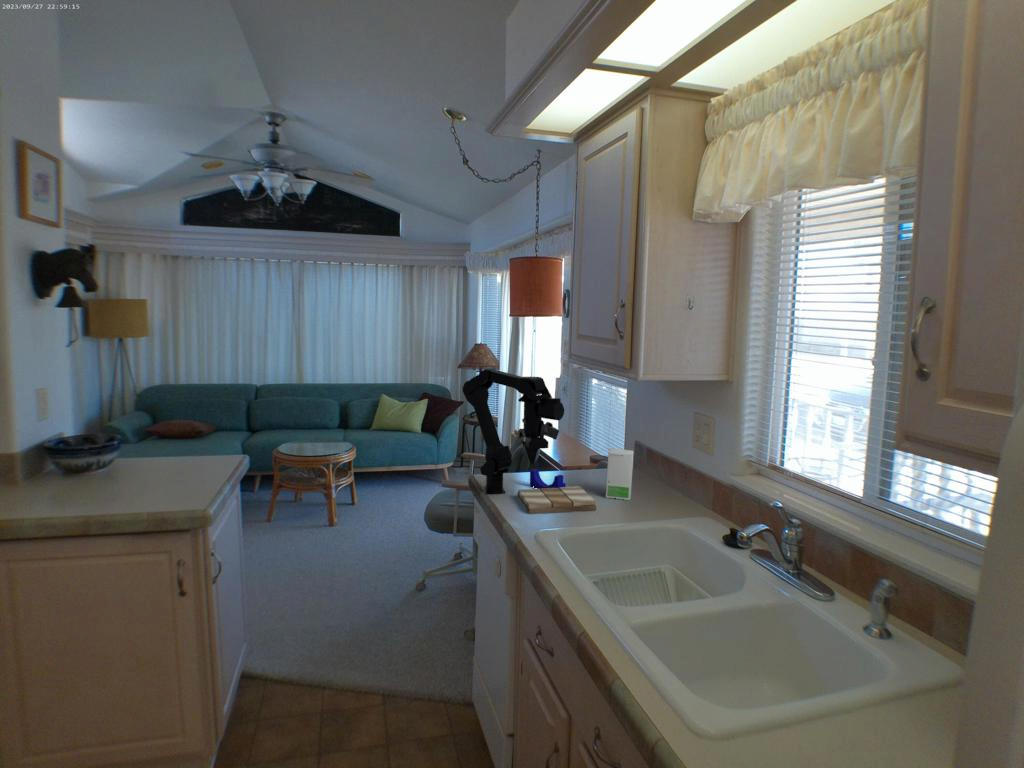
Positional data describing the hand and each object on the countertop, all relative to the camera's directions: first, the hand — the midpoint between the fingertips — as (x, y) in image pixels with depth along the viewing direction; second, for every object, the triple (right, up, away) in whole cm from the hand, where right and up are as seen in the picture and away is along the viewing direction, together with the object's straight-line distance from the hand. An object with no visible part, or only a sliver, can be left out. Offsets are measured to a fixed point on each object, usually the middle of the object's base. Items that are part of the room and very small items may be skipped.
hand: (531, 464), depth 194 cm
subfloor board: (+8, -12, -1) cm, 15 cm away
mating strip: (+8, -11, -1) cm, 13 cm away
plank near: (+1, -11, -3) cm, 11 cm away
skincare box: (+29, -12, +7) cm, 32 cm away
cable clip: (+6, -11, +15) cm, 19 cm away
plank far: (+14, -11, 0) cm, 18 cm away
